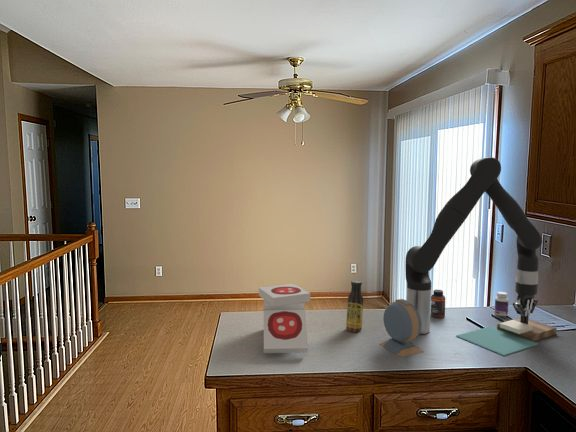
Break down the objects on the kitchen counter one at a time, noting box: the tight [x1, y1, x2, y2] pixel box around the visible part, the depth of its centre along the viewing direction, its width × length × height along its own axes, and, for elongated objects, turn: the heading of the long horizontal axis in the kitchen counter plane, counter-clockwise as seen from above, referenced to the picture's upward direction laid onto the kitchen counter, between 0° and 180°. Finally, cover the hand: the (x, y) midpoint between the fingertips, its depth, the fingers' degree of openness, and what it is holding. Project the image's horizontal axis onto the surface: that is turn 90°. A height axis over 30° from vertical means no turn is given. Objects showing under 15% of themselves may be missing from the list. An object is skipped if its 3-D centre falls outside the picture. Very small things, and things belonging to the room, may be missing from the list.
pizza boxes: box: [258, 283, 311, 354], centre depth 160 cm, size 19×30×18 cm, turn 3°
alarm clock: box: [379, 298, 425, 358], centre depth 155 cm, size 14×10×18 cm
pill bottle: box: [493, 291, 510, 317], centre depth 191 cm, size 5×5×10 cm
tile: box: [499, 319, 533, 334], centre depth 167 cm, size 8×8×2 cm
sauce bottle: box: [345, 279, 364, 333], centre depth 172 cm, size 7×6×20 cm
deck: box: [496, 317, 557, 342], centre depth 171 cm, size 16×14×2 cm
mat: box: [455, 325, 540, 357], centre depth 162 cm, size 20×20×1 cm
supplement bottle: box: [430, 289, 446, 319], centre depth 189 cm, size 6×6×11 cm
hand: (524, 324), depth 170 cm, fingers closed
